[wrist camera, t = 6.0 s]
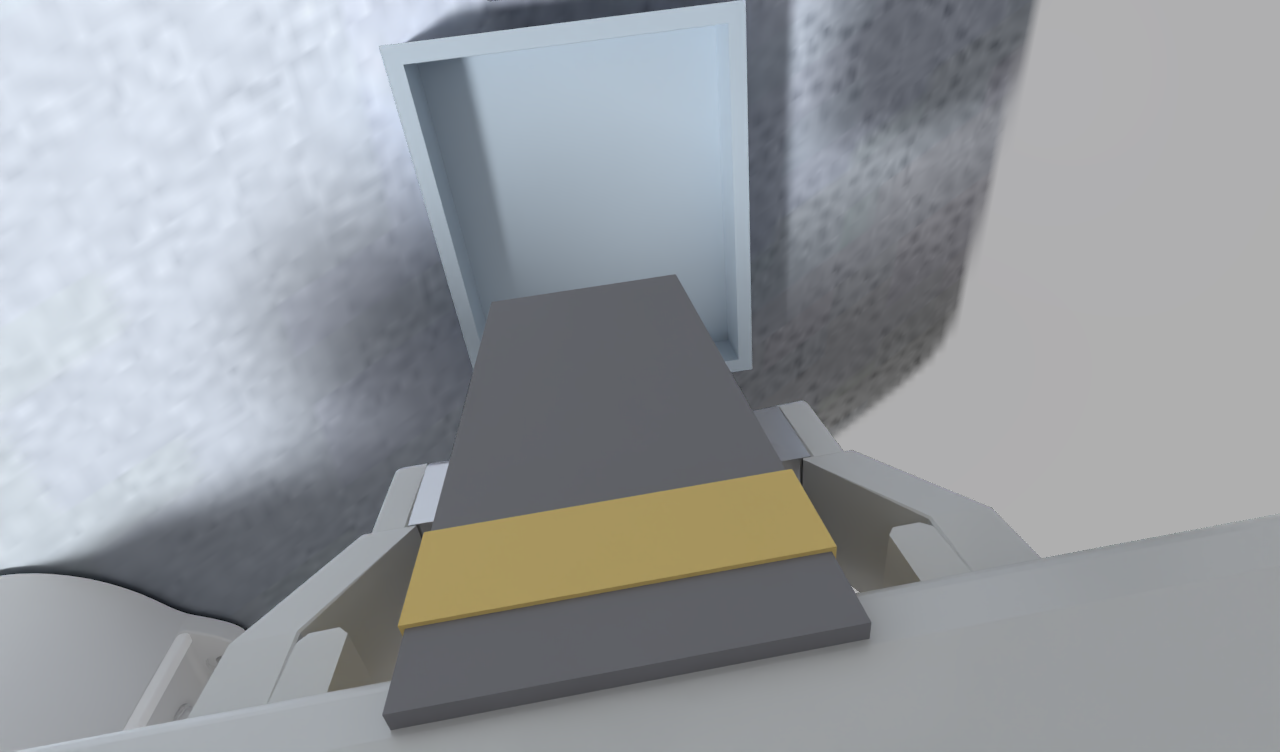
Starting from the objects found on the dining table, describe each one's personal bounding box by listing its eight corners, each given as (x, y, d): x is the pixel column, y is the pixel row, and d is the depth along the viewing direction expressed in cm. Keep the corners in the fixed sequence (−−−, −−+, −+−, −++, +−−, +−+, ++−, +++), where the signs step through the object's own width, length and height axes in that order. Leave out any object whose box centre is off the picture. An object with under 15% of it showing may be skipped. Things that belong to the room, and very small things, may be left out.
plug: (691, 427, 15) (848, 852, 7) (527, 454, 14) (494, 926, 7) (677, 271, 13) (877, 617, 5) (488, 300, 12) (374, 711, 5)
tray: (737, 343, 28) (752, 369, 26) (491, 380, 28) (484, 409, 26) (727, 4, 21) (745, -1, 19) (399, 46, 21) (378, 45, 19)
